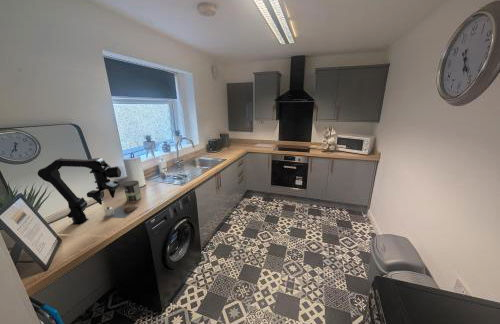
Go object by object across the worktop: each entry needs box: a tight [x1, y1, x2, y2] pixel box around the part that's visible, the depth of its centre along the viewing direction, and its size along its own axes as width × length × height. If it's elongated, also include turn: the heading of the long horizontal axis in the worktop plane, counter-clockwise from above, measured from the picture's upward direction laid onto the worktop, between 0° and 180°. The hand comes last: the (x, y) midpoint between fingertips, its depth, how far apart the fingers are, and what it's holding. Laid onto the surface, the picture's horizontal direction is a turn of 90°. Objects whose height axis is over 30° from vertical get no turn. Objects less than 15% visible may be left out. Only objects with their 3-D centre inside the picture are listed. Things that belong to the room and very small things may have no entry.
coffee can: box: [122, 180, 142, 203], centre depth 147 cm, size 10×10×14 cm
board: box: [102, 206, 139, 219], centre depth 131 cm, size 16×14×1 cm
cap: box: [104, 206, 114, 217], centre depth 126 cm, size 4×4×6 cm
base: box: [122, 203, 137, 212], centre depth 133 cm, size 7×7×2 cm
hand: (107, 201), depth 122 cm, fingers open, 9 cm apart
